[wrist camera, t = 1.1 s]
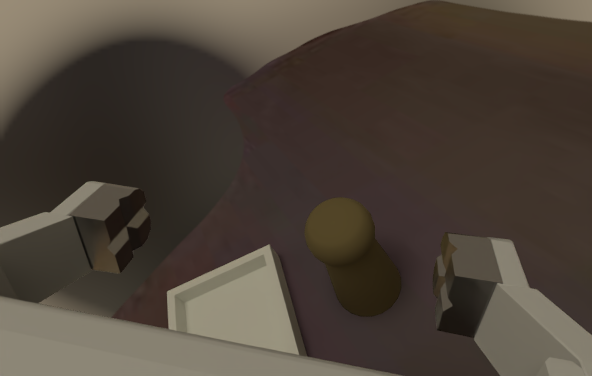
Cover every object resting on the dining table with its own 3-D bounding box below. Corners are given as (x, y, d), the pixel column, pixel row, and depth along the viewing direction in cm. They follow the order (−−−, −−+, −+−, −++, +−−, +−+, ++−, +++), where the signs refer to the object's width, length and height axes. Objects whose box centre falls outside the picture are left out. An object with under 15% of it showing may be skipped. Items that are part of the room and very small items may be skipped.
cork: (338, 321, 36) (293, 264, 28) (332, 260, 40) (292, 195, 32) (407, 310, 34) (381, 246, 26) (394, 248, 38) (368, 176, 30)
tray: (278, 256, 42) (269, 244, 40) (310, 366, 34) (300, 358, 33) (180, 301, 43) (167, 291, 41) (189, 418, 35) (172, 412, 34)
